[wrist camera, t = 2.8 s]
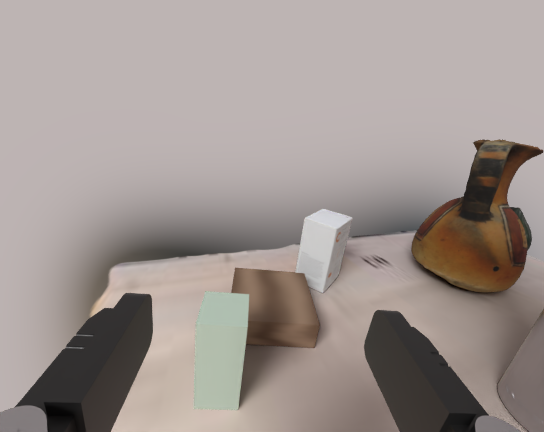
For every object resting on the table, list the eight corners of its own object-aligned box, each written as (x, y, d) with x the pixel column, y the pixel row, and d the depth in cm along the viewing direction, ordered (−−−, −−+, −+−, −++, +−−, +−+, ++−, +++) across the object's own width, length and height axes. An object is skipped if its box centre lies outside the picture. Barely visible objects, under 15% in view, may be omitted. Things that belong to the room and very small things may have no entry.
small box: (311, 264, 56) (322, 207, 52) (339, 276, 53) (353, 217, 48) (292, 279, 50) (303, 217, 45) (322, 294, 47) (338, 228, 42)
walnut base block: (300, 292, 46) (304, 273, 45) (314, 347, 35) (319, 324, 34) (233, 287, 45) (235, 267, 44) (225, 343, 34) (227, 319, 33)
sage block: (240, 370, 31) (249, 294, 27) (238, 410, 27) (247, 326, 23) (202, 368, 30) (205, 291, 27) (193, 408, 26) (195, 323, 22)
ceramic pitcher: (510, 281, 60) (580, 150, 49) (503, 320, 46) (598, 148, 35) (420, 247, 72) (461, 136, 62) (393, 269, 58) (439, 131, 48)
